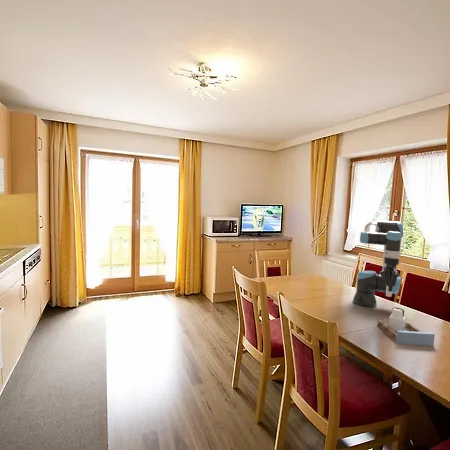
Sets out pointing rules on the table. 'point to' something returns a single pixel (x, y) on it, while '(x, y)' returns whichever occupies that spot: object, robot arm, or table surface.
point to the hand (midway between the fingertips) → (388, 296)
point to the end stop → (415, 338)
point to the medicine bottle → (397, 319)
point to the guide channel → (391, 332)
